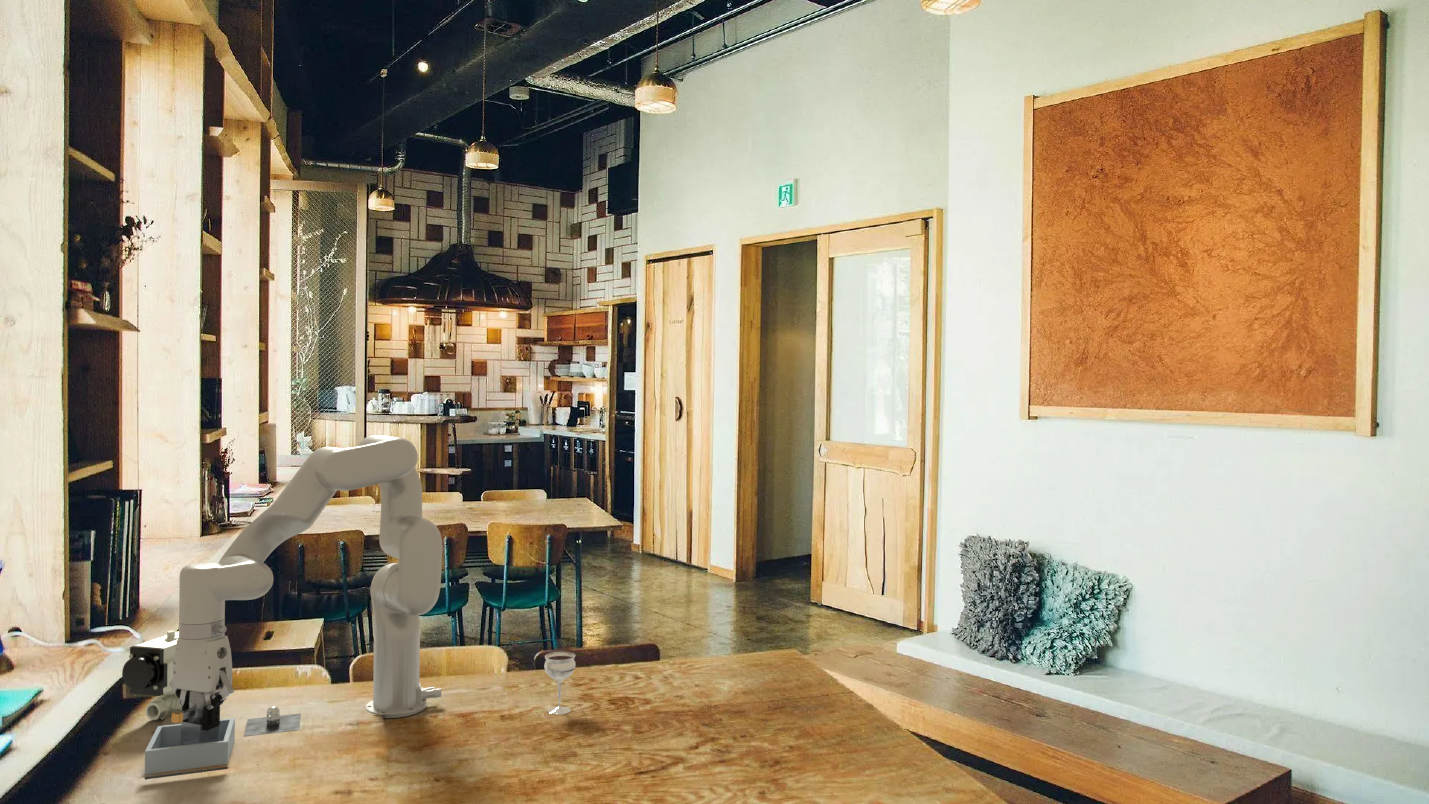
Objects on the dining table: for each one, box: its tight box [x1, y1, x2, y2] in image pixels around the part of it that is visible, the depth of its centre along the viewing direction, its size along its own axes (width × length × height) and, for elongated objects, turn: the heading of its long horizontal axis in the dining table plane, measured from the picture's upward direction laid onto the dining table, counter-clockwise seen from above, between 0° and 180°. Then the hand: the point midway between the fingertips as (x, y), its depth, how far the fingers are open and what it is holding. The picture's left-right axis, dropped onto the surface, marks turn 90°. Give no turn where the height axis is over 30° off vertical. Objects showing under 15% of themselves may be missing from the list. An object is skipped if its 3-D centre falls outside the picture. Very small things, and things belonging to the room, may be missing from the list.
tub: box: [144, 717, 236, 780], centre depth 170 cm, size 13×13×5 cm
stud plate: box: [243, 705, 302, 737], centre depth 186 cm, size 10×10×5 cm
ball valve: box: [121, 630, 183, 721], centre depth 193 cm, size 18×8×18 cm, turn 168°
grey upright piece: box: [170, 691, 219, 746], centre depth 170 cm, size 8×4×12 cm, turn 163°
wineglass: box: [543, 651, 577, 715], centre depth 200 cm, size 7×7×12 cm
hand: (200, 725), depth 172 cm, fingers closed on grey upright piece, 4 cm apart
